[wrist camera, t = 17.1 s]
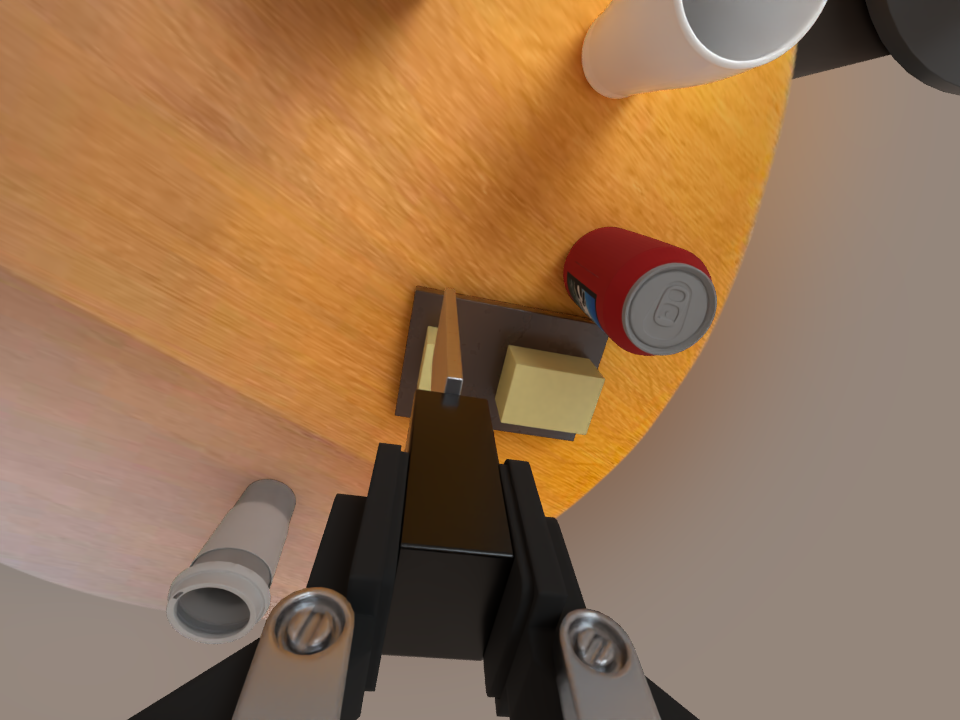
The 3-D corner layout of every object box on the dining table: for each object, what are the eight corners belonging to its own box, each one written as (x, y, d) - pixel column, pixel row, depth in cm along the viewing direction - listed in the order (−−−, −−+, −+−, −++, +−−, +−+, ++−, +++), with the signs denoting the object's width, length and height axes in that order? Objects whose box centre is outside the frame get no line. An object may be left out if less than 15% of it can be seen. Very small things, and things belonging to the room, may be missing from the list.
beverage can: (548, 297, 38) (594, 351, 26) (577, 214, 35) (641, 235, 24) (623, 318, 39) (696, 378, 28) (656, 238, 36) (751, 270, 25)
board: (605, 321, 39) (612, 326, 37) (569, 432, 43) (573, 441, 41) (416, 285, 36) (415, 289, 35) (396, 407, 40) (394, 415, 39)
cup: (266, 455, 41) (203, 561, 30) (324, 498, 43) (285, 611, 32) (214, 500, 42) (136, 618, 31) (273, 540, 45) (219, 662, 34)
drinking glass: (589, 129, 33) (698, 102, 19) (553, 26, 30) (649, -91, 17) (677, 82, 32) (857, 19, 18) (648, -28, 30) (832, -196, 16)
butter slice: (452, 330, 36) (454, 348, 33) (441, 386, 38) (441, 409, 34) (427, 325, 36) (426, 343, 32) (417, 382, 38) (415, 405, 34)
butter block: (589, 358, 38) (605, 379, 35) (572, 410, 40) (586, 435, 36) (508, 344, 37) (516, 363, 34) (494, 398, 39) (500, 422, 35)
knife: (472, 291, 23) (524, 536, 8) (457, 364, 24) (479, 677, 10) (428, 283, 22) (400, 523, 8) (416, 357, 24) (374, 672, 9)
